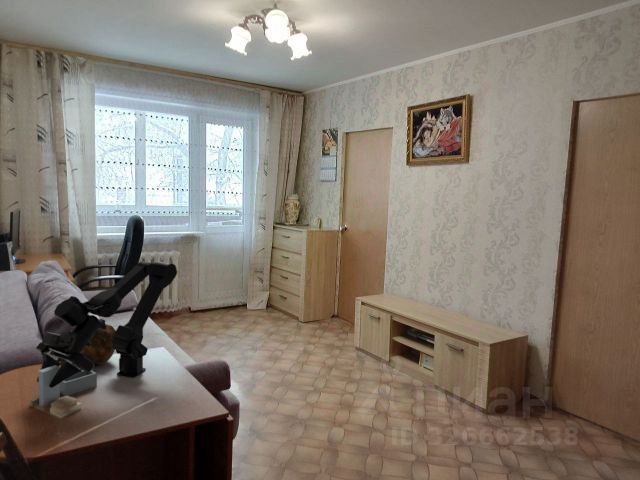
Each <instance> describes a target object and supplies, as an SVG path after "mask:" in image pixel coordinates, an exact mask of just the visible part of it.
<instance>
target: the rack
mask: <svg viewBox="0 0 640 480" xmlns="http://www.w3.org/2000/svg"><path fill="white" fill-rule="evenodd" d="M28 406H29V407H32V408H34V409H37V410H38V411H41V412H43V413H45V414H47V415H49V416H51V417H53V418H56V419H58V420H62V419H64V418H66V417H69V416H70V415H74V414H75V413H77V412H81V411H83V410H85V407H83V406H82V403H81V402H78V398H75V397H73V396H70V395H68V396H67V395H66V396H64V395H63V396H60V398H59V399H56V400H53V401H51V402H48V403H46V404H43V405H41V406H39V396H38V397H35V398H34V399H33V398H32V399H30V400H29V404H28Z"/></svg>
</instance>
